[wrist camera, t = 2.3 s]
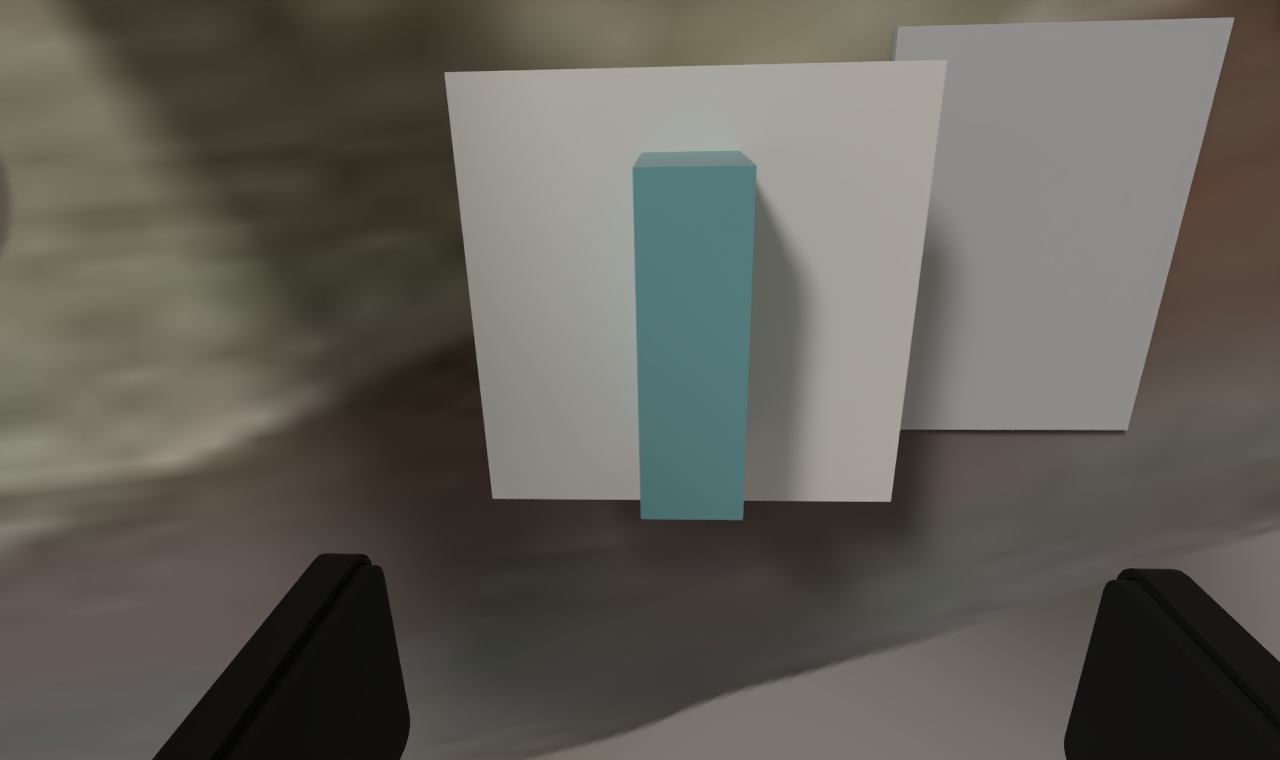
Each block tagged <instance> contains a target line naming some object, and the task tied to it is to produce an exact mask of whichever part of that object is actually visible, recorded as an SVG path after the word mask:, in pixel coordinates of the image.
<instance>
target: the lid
mask: <svg viewBox="0 0 1280 760" xmlns="http://www.w3.org/2000/svg"><path fill="white" fill-rule="evenodd" d="M946 67H947V60H922V61H881V62H841V63H800V64H760V65H719V66H679V67H638V68H597V69H557V70H516V71H476V72H444V74H445V83H446V92H447V101H448V109H449V118H450V127H451V136H452V145H453V154H454V162H455V171H456V180H457V189H458V198H459V206H460V215H461V224H462V233H463V242H464V251H465V259H466V268H467V277H468V286H469V295H470V304H471V312H472V321H473V330H474V339H475V348H476V357H477V365H478V374H479V383H480V392H481V401H482V409H483V418H484V427H485V436H486V445H487V454H488V462H489V471H490V480H491V489H492V498H493V499H590V500H640V504H641V519H679V520H743V506H744V501H849V502H891V496H892V489H893V481H894V473H895V465H896V457H897V449H898V442H899V434H900V426H901V418H902V410H903V403H904V395H905V387H906V379H907V371H908V364H909V356H910V348H911V340H912V332H913V324H914V317H915V309H916V301H917V293H918V285H919V278H920V270H921V262H922V254H923V246H924V239H925V231H926V223H927V215H928V207H929V199H930V192H931V184H932V176H933V168H934V160H935V153H936V145H937V137H938V129H939V121H940V114H941V106H942V98H943V90H944V82H945V75H946Z"/></svg>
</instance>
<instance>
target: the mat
mask: <svg viewBox="0 0 1280 760" xmlns="http://www.w3.org/2000/svg"><path fill="white" fill-rule="evenodd" d="M1233 22H1234V18H1200V19H1163V20H1126V21H1089V22H1053V23H1016V24H979V25H942V26H905V27H896V28H894V34H893V44H892V54H891V61H922V60H947V67H946V75H945V82H944V90H943V98H942V106H941V114H940V121H939V129H938V137H937V145H936V153H935V160H934V168H933V176H932V184H931V192H930V199H929V207H928V215H927V223H926V231H925V239H924V246H923V254H922V262H921V270H920V278H919V285H918V293H917V301H916V309H915V317H914V324H913V332H912V340H911V348H910V356H909V364H908V371H907V379H906V387H905V395H904V403H903V410H902V418H901V426H900V430H1127V429H1128V425H1129V421H1130V418H1131V414H1132V410H1133V406H1134V402H1135V398H1136V395H1137V391H1138V387H1139V383H1140V379H1141V375H1142V372H1143V368H1144V364H1145V360H1146V356H1147V352H1148V348H1149V345H1150V341H1151V337H1152V333H1153V329H1154V325H1155V322H1156V318H1157V314H1158V310H1159V306H1160V302H1161V298H1162V295H1163V291H1164V287H1165V283H1166V279H1167V275H1168V272H1169V268H1170V264H1171V260H1172V256H1173V252H1174V248H1175V245H1176V241H1177V237H1178V233H1179V229H1180V225H1181V222H1182V218H1183V214H1184V210H1185V206H1186V202H1187V199H1188V195H1189V191H1190V187H1191V183H1192V179H1193V175H1194V172H1195V168H1196V164H1197V160H1198V156H1199V152H1200V149H1201V145H1202V141H1203V137H1204V133H1205V129H1206V125H1207V122H1208V118H1209V114H1210V110H1211V106H1212V102H1213V99H1214V95H1215V91H1216V87H1217V83H1218V79H1219V75H1220V72H1221V68H1222V64H1223V60H1224V56H1225V52H1226V49H1227V45H1228V41H1229V37H1230V33H1231V29H1232V26H1233Z"/></svg>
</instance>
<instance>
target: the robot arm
mask: <svg viewBox="0 0 1280 760" xmlns="http://www.w3.org/2000/svg"><path fill="white" fill-rule="evenodd" d="M409 729H410V714H409V709H408V703H407V698H406V692H405V687H404V682H403V676H402V671H401V665H400V660H399V654H398V649H397V643H396V638H395V632H394V627H393V621H392V616H391V610H390V605H389V599H388V594H387V588H386V583H385V577H384V573H383V570H382V568H381V567H380V566H378V565H372V564H371V560H370V559H369V557H368V556H367V555H364V554H333V553H324V554H321V555H319V556H318V557H317V558H316V559H315V560H314V561H313V562H312V563H311V565H310V566H309V567H308V568H307V570H306V571H305V572H304V573H303V574H302V576H301V577H300V578H299V579H298V581H297V582H296V583H295V584H294V586H293V587H292V588H291V589H290V590H289V592H288V593H287V594H286V595H285V597H284V598H283V599H282V600H281V602H280V603H279V604H278V605H277V606H276V608H275V609H274V610H273V611H272V613H271V614H270V615H269V616H268V618H267V619H266V620H265V621H264V622H263V624H262V625H261V626H260V627H259V629H258V630H257V631H256V632H255V634H254V635H253V636H252V637H251V639H250V640H249V641H248V642H247V643H246V645H245V646H244V647H243V648H242V650H241V651H240V652H239V653H238V655H237V656H236V657H235V658H234V659H233V661H232V662H231V663H230V664H229V666H228V667H227V668H226V669H225V671H224V672H223V673H222V674H221V675H220V677H219V678H218V679H217V680H216V682H215V683H214V684H213V685H212V687H211V688H210V689H209V690H208V691H207V693H206V694H205V695H204V696H203V698H202V699H201V700H200V701H199V703H198V704H197V705H196V706H195V707H194V709H193V710H192V711H191V712H190V714H189V715H188V716H187V717H186V719H185V720H184V721H183V722H182V723H181V725H180V726H179V727H178V728H177V730H176V731H175V732H174V733H173V735H172V736H171V737H170V738H169V739H168V741H167V742H166V743H165V744H164V746H163V747H162V748H161V749H160V751H159V752H158V753H157V754H156V755H155V757H154V758H153V759H152V760H400V758H401V756H402V753H403V751H404V749H405V746H406V743H407V740H408V735H409ZM1064 750H1065V755H1066V759H1067V760H1280V662H1279V661H1278V660H1277V659H1276V658H1275V657H1274V656H1273V655H1272V654H1271V653H1270V652H1268V651H1267V650H1266V649H1265V648H1264V647H1263V646H1262V645H1261V644H1260V643H1259V642H1258V641H1257V640H1256V639H1254V637H1252V636H1251V635H1250V634H1249V633H1248V632H1247V631H1246V630H1245V629H1244V628H1243V627H1242V626H1241V625H1239V623H1238V622H1236V621H1235V620H1234V619H1233V618H1232V617H1231V616H1230V615H1229V614H1228V613H1227V612H1226V611H1225V610H1224V609H1222V607H1221V606H1220V605H1218V604H1217V603H1216V602H1215V601H1214V600H1213V599H1212V598H1211V597H1210V596H1209V595H1208V594H1207V593H1206V592H1204V591H1203V589H1201V588H1200V587H1199V586H1198V585H1197V584H1196V583H1195V582H1194V581H1193V580H1192V579H1191V578H1190V577H1189V576H1187V575H1186V574H1184V573H1183V572H1182V571H1179V570H1174V569H1134V568H1129V569H1125V570H1123V571H1122V572H1121V573H1120V574H1119V575H1118V577H1117V580H1111V581H1109V582H1108V583H1107V584H1106V585H1105V588H1104V590H1103V594H1102V598H1101V601H1100V605H1099V609H1098V613H1097V617H1096V620H1095V624H1094V628H1093V632H1092V635H1091V639H1090V643H1089V647H1088V651H1087V654H1086V658H1085V662H1084V666H1083V670H1082V674H1081V677H1080V681H1079V685H1078V689H1077V692H1076V697H1075V700H1074V704H1073V708H1072V711H1071V715H1070V719H1069V723H1068V727H1067V730H1066V734H1065V739H1064Z"/></svg>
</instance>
